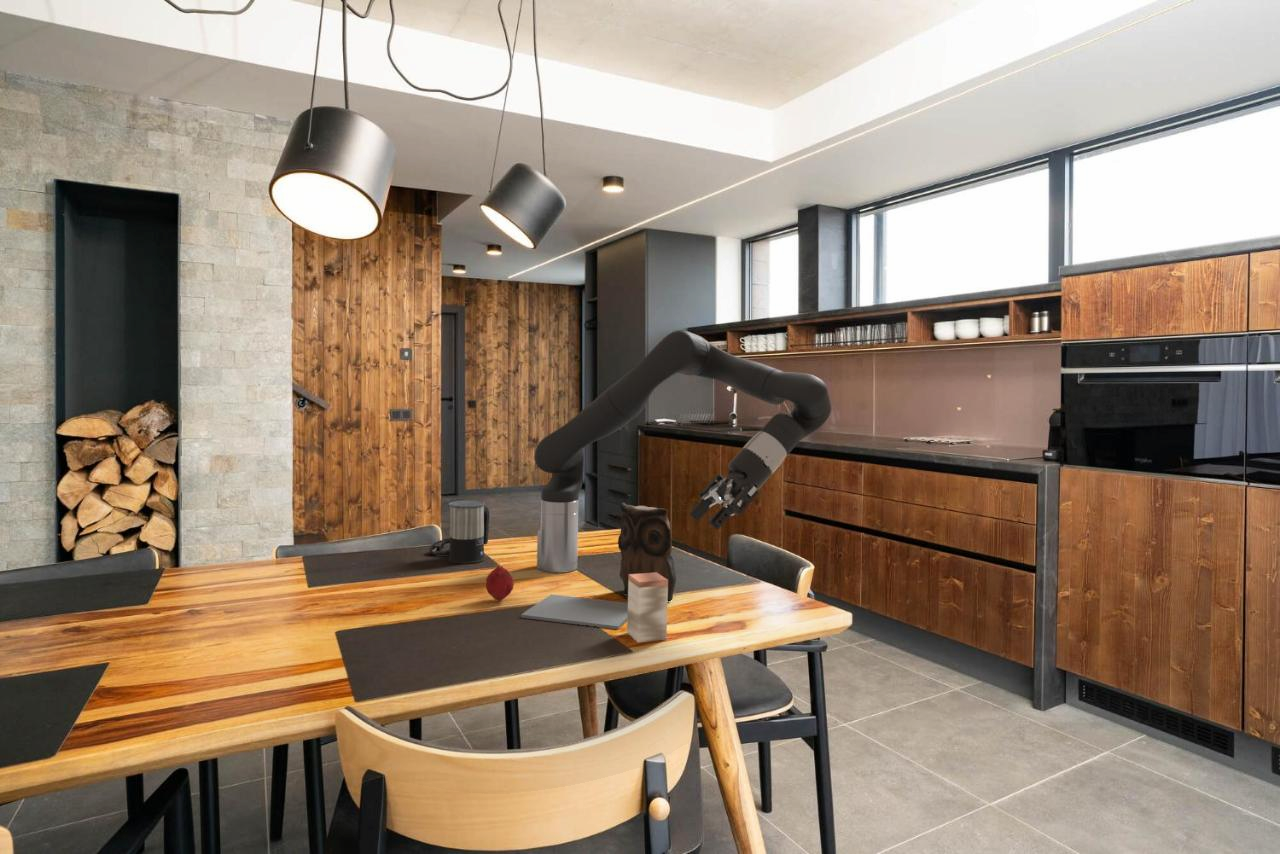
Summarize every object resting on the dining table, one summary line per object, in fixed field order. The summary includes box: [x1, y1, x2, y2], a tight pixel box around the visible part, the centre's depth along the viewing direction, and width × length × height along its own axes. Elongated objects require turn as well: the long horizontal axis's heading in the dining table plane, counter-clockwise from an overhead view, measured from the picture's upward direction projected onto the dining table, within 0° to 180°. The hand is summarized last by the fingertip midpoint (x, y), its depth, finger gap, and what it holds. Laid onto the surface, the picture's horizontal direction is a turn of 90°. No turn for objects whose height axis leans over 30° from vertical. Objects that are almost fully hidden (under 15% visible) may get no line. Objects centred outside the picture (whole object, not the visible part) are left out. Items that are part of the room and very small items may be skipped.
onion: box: [484, 562, 515, 602], centre depth 156 cm, size 6×6×8 cm
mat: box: [520, 594, 628, 630], centre depth 150 cm, size 20×15×1 cm
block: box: [626, 572, 668, 643], centre depth 137 cm, size 6×6×11 cm
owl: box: [617, 502, 677, 601], centre depth 163 cm, size 13×13×20 cm
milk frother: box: [428, 499, 490, 564], centre depth 194 cm, size 14×16×15 cm
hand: (702, 522), depth 140 cm, fingers open, 8 cm apart
